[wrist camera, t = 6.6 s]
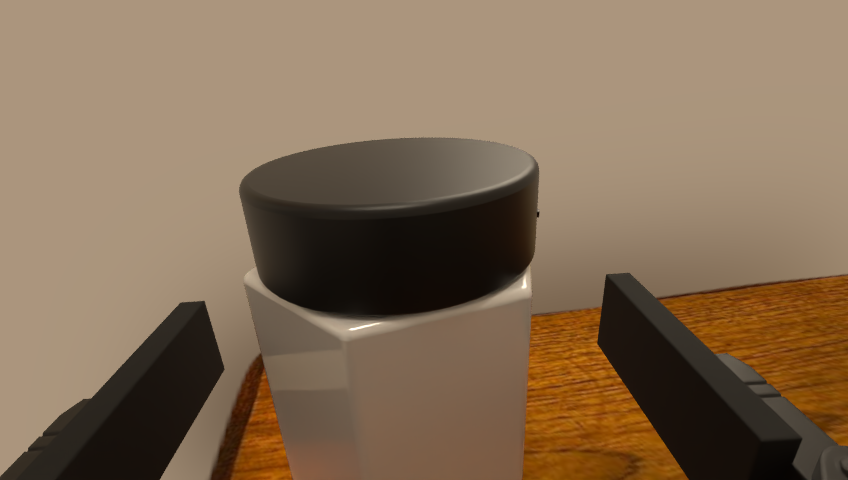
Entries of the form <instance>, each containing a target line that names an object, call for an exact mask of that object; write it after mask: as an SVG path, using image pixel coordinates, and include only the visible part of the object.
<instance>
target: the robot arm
mask: <svg viewBox="0 0 848 480" xmlns="http://www.w3.org/2000/svg"><path fill="white" fill-rule="evenodd" d="M597 344H598V345H599V347H600V348H601V350H602V351H603V353H604V354H605V356H606V357H607V359H608V360H609V362H610V363H611V365H612V366H613V368H614V369H615V371H616V372H617V374H618V375H619V376H620V378H621V379H622V381H623V382H624V384H625V385H626V387H627V388H628V390H629V391H630V393H631V394H632V396H633V397H634V399H635V400H636V402H637V403H638V405H639V406H640V408H641V409H642V411H643V412H644V414H645V415H646V417H647V418H648V419H649V421H650V422H651V424H652V425H653V427H654V428H655V430H656V431H657V433H658V434H659V436H660V437H661V439H662V440H663V442H664V443H665V445H666V446H667V448H668V449H669V451H670V452H671V454H672V455H673V457H674V458H675V460H676V461H677V462H678V464H679V465H680V467H681V468H682V470H683V471H684V473H685V474H686V476H687V477H688V479H689V480H848V446H839V445H838V444H837V443H836V442H835V441H833V440H832V439H831V438H830V437H829V436H828V435H827V434H826V433H824V432H823V431H822V430H821V429H820V428H819V427H818V426H817V425H815V424H814V423H813V422H812V421H811V420H810V419H809V418H808V417H806V416H805V415H804V414H803V413H802V412H801V411H800V410H799V409H797V408H796V407H795V406H794V405H793V404H792V403H791V402H790V401H788V400H787V399H786V398H785V397H782V396H781V393H779V392H778V391H777V390H776V389H775V388H774V387H773V386H772V385H770V384H767V382H766V380H765V379H764V378H763V377H761V376H760V375H759V374H758V373H757V372H756V371H755V370H754V369H753V368H751V367H750V366H749V365H747V364H745V363H744V362H742V361H740V360H738V359H736V358H735V357H733V356H731V355H729V354H727V353H725V354H714V353H713V352H712V351H711V350H710V349H709V348H708V347H707V346H705V345H704V344H703V343H702V342H701V341H700V340H699V339H698V338H697V337H696V336H695V335H694V334H693V333H692V332H691V331H690V330H689V329H688V328H687V327H686V326H684V325H683V324H682V323H681V322H680V321H679V320H678V319H677V318H676V317H675V316H674V315H673V314H672V313H671V312H670V311H669V310H668V309H667V308H666V307H665V306H664V305H662V304H661V303H660V302H659V301H658V300H657V299H656V298H655V297H654V296H653V295H652V294H651V293H650V292H649V291H648V290H647V289H646V288H645V287H644V286H643V285H641V284H640V283H639V282H638V281H637V280H636V279H635V278H634V277H633V276H632V275H631V274H630V273H621V274H607V275H606V280H605V288H604V296H603V303H602V311H601V319H600V326H599V334H598V342H597ZM223 371H224V365H223V362H222V359H221V355H220V352H219V349H218V345H217V342H216V339H215V335H214V332H213V328H212V325H211V322H210V318H209V315H208V312H207V308H206V305H205V301H198V302H184V303H183V302H182V303H180V304H179V305H178V306H177V307H176V308H175V309H174V310H173V311H172V312H171V314H170V315H169V316H168V317H167V318H166V319H165V320H164V321H163V322H162V323H161V324H160V325H159V326H158V327H157V329H156V330H155V331H154V332H153V333H152V334H151V335H150V336H149V337H148V338H147V339H146V340H145V341H144V343H143V344H142V345H141V346H140V347H139V348H138V349H137V350H136V351H135V352H134V353H133V354H132V355H131V356H130V357H129V359H128V360H127V361H126V362H125V363H124V364H123V365H122V366H121V367H120V368H119V369H118V370H117V371H116V373H115V374H114V375H113V376H112V377H111V378H110V379H109V380H108V381H107V382H106V383H105V385H103V387H102V388H101V389H100V390H99V391H98V392H97V393H96V394H95V395H94V396H93V397H92V398H91V399H83V400H82V401H80V402H79V403H77V404H76V405H74V406H73V407H71V408H70V409H69V410H67V411H66V412H64V413H63V414H61V415H60V416H59V417H58V418H57V419H56V420H55V421H54V422H53V423H52V424H51V425H50V426H49V427H48V428H47V429H46V430H45V431H44V432H43V436H42V437H39V438H38V439H37V440H36V441H35V442H34V443H33V444H32V445H31V446H30V447H29V448H28V451H27V452H24V453H23V454H22V455H21V456H20V457H19V458H18V459H17V460H16V461H15V462H14V463H13V464H12V465H11V466H10V467H9V468H8V469H7V470H6V471H5V472H4V473H3V474H2V475H1V477H0V480H160V478H161V476H162V475H163V473H164V471H165V469H166V467H167V466H168V464H169V463H170V461H171V459H172V458H173V456H174V454H175V453H176V451H177V449H178V447H179V446H180V444H181V442H182V441H183V439H184V437H185V435H186V434H187V432H188V430H189V429H190V427H191V425H192V423H193V422H194V420H195V418H196V417H197V415H198V413H199V412H200V410H201V408H202V407H203V405H204V403H205V401H206V400H207V398H208V396H209V395H210V393H211V391H212V390H213V388H214V386H215V385H216V383H217V381H218V380H219V378H220V376H221V374H222V373H223Z"/></svg>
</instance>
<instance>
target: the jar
mask: <svg viewBox="0 0 848 480" xmlns="http://www.w3.org/2000/svg"><path fill="white" fill-rule="evenodd" d="M538 183H539V167H538V163H537V162H536V160H535V159H534V157H532V156H531V155H530V154H528V153H527V152H525V151H523V150H521V149H518V148H516V147H513V146H509V145H505V144H500V143H495V142H490V141H482V140H473V139H458V138H400V139H385V140H372V141H363V142H355V143H347V144H340V145H334V146H328V147H322V148H317V149H312V150H308V151H303V152H299V153H295V154H292V155H288V156H285V157H282V158H278V159H275V160H273V161H270V162H268V163H265V164H263V165H261V166H259V167H257V168H255V169H254V170H253V171H251V172H250V173H249V174H248V175H246V176H245V177H244V179H243V180H242V182H241V184H240V187H239V193H240V198H241V202H242V206H243V211H244V215H245V220H246V224H247V228H248V233H249V237H250V241H251V246H252V250H253V254H254V258H255V263H256V266H255V267H254V268H253V269H252V270H250V271H249V272H248V273H247V274H246V275H245V277H244V279H243V281H244V286H245V290H246V294H247V298H248V302H249V306H250V310H251V314H252V318H253V322H254V326H255V330H256V334H257V338H258V342H259V346H260V350H261V354H262V358H263V362H264V366H265V371H266V375H267V379H268V383H269V387H270V391H271V395H272V399H273V403H274V407H275V411H276V415H277V419H278V423H279V427H280V431H281V435H282V439H283V443H284V447H285V451H286V455H287V459H288V463H289V467H290V471H291V475H292V479H293V480H522V478H523V459H524V440H525V421H526V403H527V384H528V365H529V346H530V327H531V307H532V282H531V265H530V262H531V261H532V258H533V255H534V252H535V239H536V221H537V220H536V219H537V217H539V209H537V203H538Z"/></svg>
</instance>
